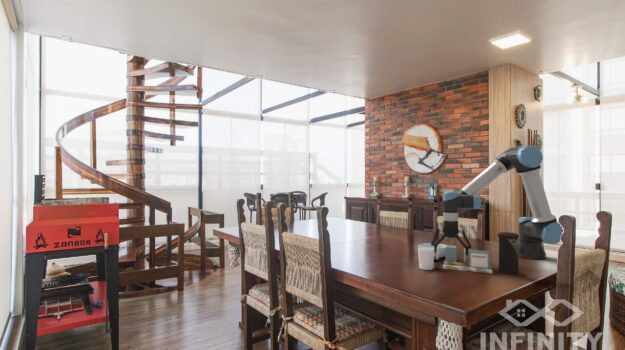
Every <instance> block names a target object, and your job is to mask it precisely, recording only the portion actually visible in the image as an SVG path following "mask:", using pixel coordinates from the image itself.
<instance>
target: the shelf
mask: <svg viewBox="0 0 625 350" xmlns="http://www.w3.org/2000/svg"><path fill="white" fill-rule="evenodd" d="M442 269H444V270H453V271H464V272H475V273H485V274H493V269H492V265H491V264H490V269H481V268H470V267H469V262H460V261H456V262H450V261H445V260H444V261H443V264H442Z"/></svg>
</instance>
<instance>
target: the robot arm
mask: <svg viewBox="0 0 625 350" xmlns="http://www.w3.org/2000/svg"><path fill="white" fill-rule="evenodd" d="M543 158H544V156H543V153H542V151H541V150H540V149H539V148H538V147H536V146H533V145H521V146H517V147H511V148H508V149H507V150H504V151H503V152H502V153H501V154H500V155H498V156H497V157H496V158H494V160H492V164H490V165H489V166H488V167H486V168H485V169H484V170H482V172H480V173H479V174H478V175H476V176H475V177H474V178H473V179H472V180H471V181H470V182H468V183H467V184H466V185H464V186H463V187H461V189H459V190H458V191H444V192H443V194H442V195H443V196H442V210H443V211H442V218H443V221H442V225H443V228H439V227H438V228H436V229H437V230H436V234H435V235H434V237H433V240H432V241H431V242H430V243H431V245H433V246H434V252H435V253H437V259H436V260H439V259H440V258H439V246H437V245H438V244H441V242H442V241H443V240H445V238H448V239H450V238H452V239H454V238H455V239H457V241H458V242H459V243H460V244H461V246H462V247H464V248H463V263H467V262H466V261H467V260H466V257H467V256H469V249H472V243H471V242H470V240H469V239H468V236H467V234H466V231H465V229H459V210H477V209H478V210H479V209H480V208H481V206H482V199H481V196H479V195H478V194H479V193H480V192H481V191H482V190H484V189H485V188H486V187H488V186H489V185H491V183H492V182H494V180H496V179H497V178H499V177H500V176H501V175H502V174H506V173H508V172H509V171H510V170H513V169H515V171H516V174H517V175H519V176H520V177H521V180H522V184H523V188H524V191H525V194H526V197H527V201H528V204H529V208H530V211H531V215H532V216H521V217H519V218H518V223H517V225H518V235H519V238H518V258H522V259H527V260H528V259H530V260H545V259H546V258H547V253H546V250H545V248H544V244H543V243H545V244H548V245H556V244H559V243H561V241H560V236H561V234H562V232H563V229H562V227H561V226H560V224H561V223H560V224H559V222H558V219H557V217H556V215H554V214H552V210H551V209H550V204H549V202H548V198H547V195H546V190H545V188H544V184H543V181H542V177H541V174H540V170H541V168H542V167H541V164H542V161H543ZM441 233H443V235H442V236H441V237H440V238H439V240H438V241H436V240H437V239H438V237H439V234H441ZM459 233H460V235H462V238H464V240H463V239H462V238H461V237H460V236H459ZM435 242H436V244H435ZM465 242H466V243H465ZM438 258H439V259H438Z"/></svg>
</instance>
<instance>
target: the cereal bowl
mask: <svg viewBox="0 0 625 350" xmlns="http://www.w3.org/2000/svg"><path fill="white" fill-rule="evenodd" d="M431 243H432V242H429V243H427V242H426V243H425V242H424V243H420V244H418V246H417V249H418V248H420V247H428V248H433V249H434V246H433V245H431ZM434 243H435V242H434ZM436 243H437V242H436ZM436 243H435V244H436ZM446 245H447V244H443V243H439V244H438V245H437V246H439V258H438V259H437V253H435V252H434V260H440V259H441V258H444V257H445V248H446Z"/></svg>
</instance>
